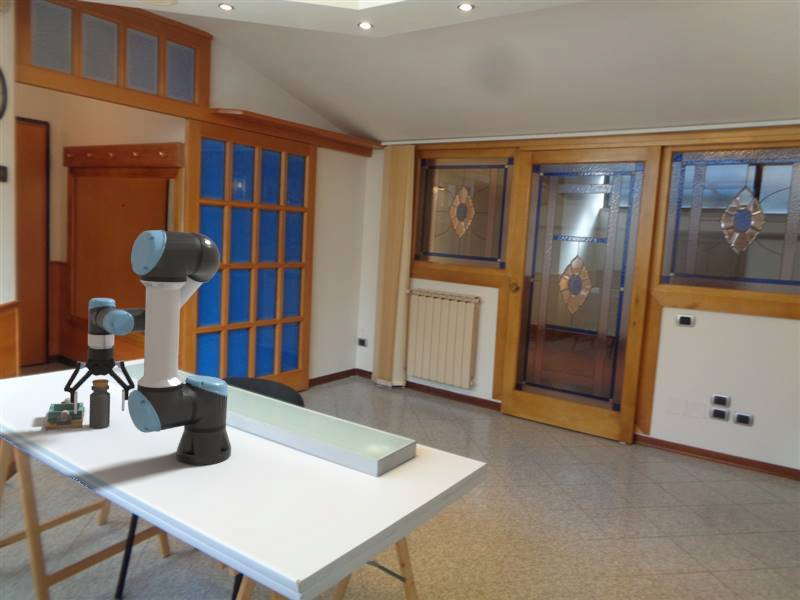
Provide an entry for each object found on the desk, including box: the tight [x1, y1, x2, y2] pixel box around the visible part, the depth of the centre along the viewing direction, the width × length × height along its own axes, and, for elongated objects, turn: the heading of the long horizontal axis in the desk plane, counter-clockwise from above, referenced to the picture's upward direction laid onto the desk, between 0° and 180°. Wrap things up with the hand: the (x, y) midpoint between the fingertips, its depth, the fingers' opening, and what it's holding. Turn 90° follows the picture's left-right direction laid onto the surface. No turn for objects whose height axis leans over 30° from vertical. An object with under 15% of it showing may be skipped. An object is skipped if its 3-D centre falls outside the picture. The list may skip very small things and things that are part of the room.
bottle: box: [88, 378, 111, 430], centre depth 188 cm, size 6×6×15 cm
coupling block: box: [44, 397, 86, 431], centre depth 192 cm, size 19×10×5 cm, turn 26°
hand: (99, 411), depth 189 cm, fingers open, 13 cm apart
